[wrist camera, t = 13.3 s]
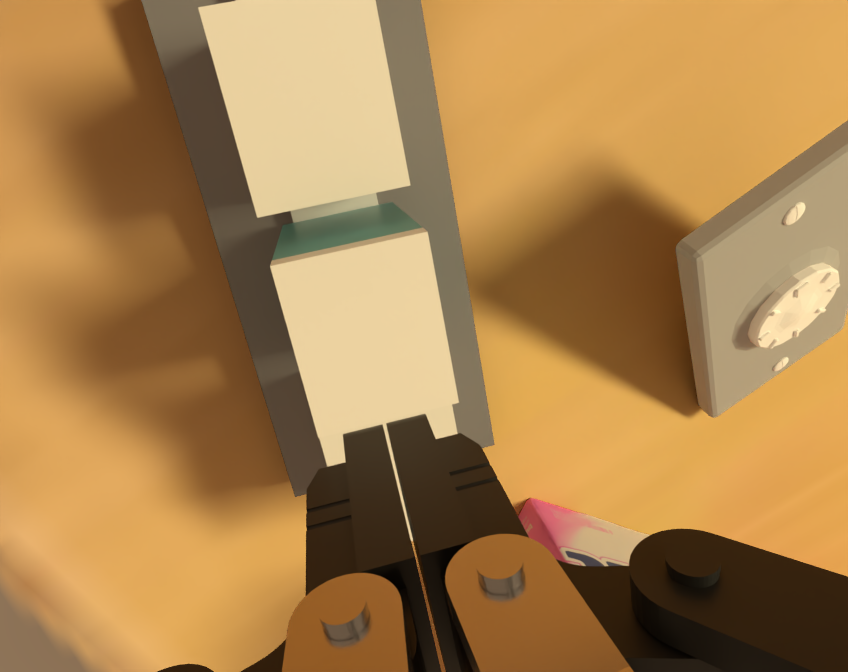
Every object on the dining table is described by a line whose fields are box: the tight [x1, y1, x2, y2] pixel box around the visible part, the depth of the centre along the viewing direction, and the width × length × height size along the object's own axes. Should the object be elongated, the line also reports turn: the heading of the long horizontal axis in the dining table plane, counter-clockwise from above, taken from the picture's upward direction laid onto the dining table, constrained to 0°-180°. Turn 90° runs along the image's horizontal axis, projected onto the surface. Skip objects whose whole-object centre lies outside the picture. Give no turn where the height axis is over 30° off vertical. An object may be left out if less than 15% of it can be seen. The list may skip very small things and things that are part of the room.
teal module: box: [270, 202, 459, 438], centre depth 21 cm, size 6×4×8 cm
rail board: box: [141, 0, 494, 541], centre depth 24 cm, size 22×10×7 cm, turn 11°
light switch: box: [675, 121, 848, 418], centre depth 28 cm, size 8×6×14 cm
